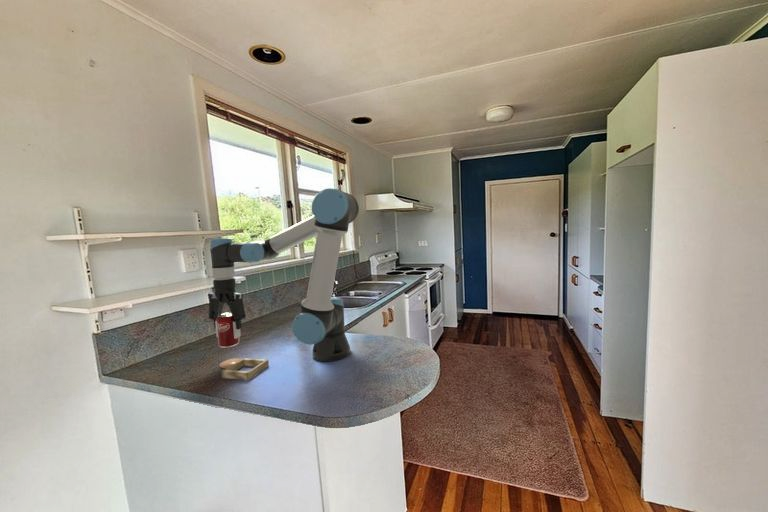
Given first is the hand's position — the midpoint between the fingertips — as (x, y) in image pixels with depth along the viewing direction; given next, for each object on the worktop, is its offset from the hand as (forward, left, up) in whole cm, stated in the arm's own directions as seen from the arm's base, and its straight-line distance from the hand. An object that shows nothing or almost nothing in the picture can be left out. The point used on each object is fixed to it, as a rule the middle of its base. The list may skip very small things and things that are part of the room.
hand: (228, 336), depth 117 cm
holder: (-11, +5, -11) cm, 16 cm away
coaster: (0, 0, -11) cm, 11 cm away
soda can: (0, 0, -3) cm, 3 cm away
